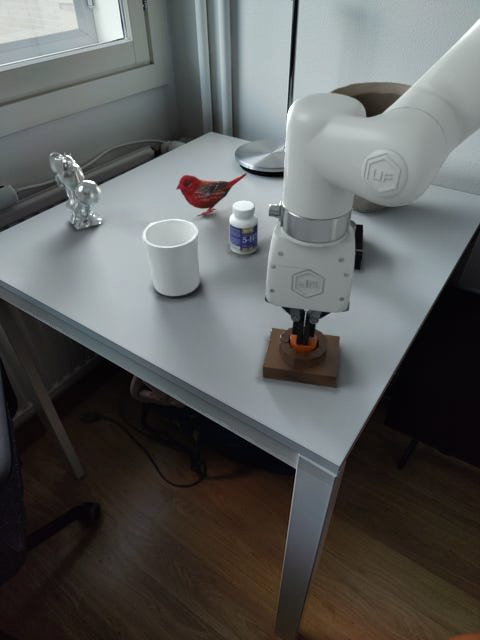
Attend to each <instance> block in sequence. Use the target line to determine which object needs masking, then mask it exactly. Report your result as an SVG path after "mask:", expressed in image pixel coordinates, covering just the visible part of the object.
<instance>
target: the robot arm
mask: <svg viewBox="0 0 480 640" xmlns="http://www.w3.org/2000/svg"><path fill="white" fill-rule="evenodd" d="M411 86H412V87H411V88H410V89H408V90H407V91H406V92H405V93H404V94H403V95H402V96H401V97H400V98H399V99H398V100H397V101H396V102H395V103H394V104H392V105H391V106H390V107H389V108H388V109H387V110H386V111H384V112H383V113H382V114H380V115H377V116H373V117H367V118H366V112H365V108H364V106H363V105H362V104H361V103H360V102H359V101H358V100H356V99H354V98H352V97H349V96H346V95H342V94H335V93H329V92H317V93H311V94H307V95H303V96H301V97H299V98H297V99H296V100H295V101H293V103H292V104H291V105H290V107H289V109H288V112H287V114H286V115H287V116H286V126H285V127H286V128H285V146H284V147H285V148H284V162H283V163H284V167H283V183H282V184H283V185H282V186H283V187H282V200H280V202H279V203H276V204H271V203H270V204H269V205H268V206H269V207H268V217H271V218H275V219H278V222H277V223H276V225H275V227H274V229H273V232H272V236H271V240H270V245H269V250H268V259H267V268H266V280H265V296H264V302H266V303H268V304H271V305H274V306H277V307H280V308H281V309H283V310H284V311H285V312H286V313H287V314H288V315H289V316H290V320H291V321H292V327H293V329H292V335H297V340H296V344H299V345H300V344H302V337H303V344H304V345H306V346H308V340H309V337H314V334H315V329H316V326H317V324H318V323H319V321H320V320H321V319H323V318H324V317H327V316H328V315H329V314H331V313H332V314H333V313H335V314H336V313H346V312H349V311H350V305H351V303H350V299H351V294H352V287H353V281H354V280H353V279H354V272H355V269H354V263H355V236H354V230H353V228H352V226H351V225H350V220H352V219H351V218H352V212H353V209H352V206H353V201H354V195H357V196H359V197H361V198H363V199H366V200H368V201H370V202H373V203H376V204H379V205H383V206H385V207H403V206H405V205H409V204H410V203H413V202H414V201H416V200H418V199H420V197H421V196H423V195H424V194H425V193H426V191H427V190H428V189H429V187H431V185H432V183H433V181H435V179H436V177H437V175H438V173H439V172H440V170H441V168H442V167H443V165H444V163H445V162H446V160H447V158H448V157H449V155H450V154H451V153H452V152H454V150H455V149H457V148H458V147H459V146H460V145H461V144H462V143H463V142H464V141H466V140H467V139H469V138H470V137H471V136H472V135H473V134H475V133H476V132H477V131H478V130H480V17H479V18H478V19H477V20H476V22H475V23H474V24H473V25H472V26H471V27H470V28H469V29H468V30H467V31H466V32H465V33H464V34H463V35H462V36H461V37H460V38H459V39H458V40H456V42H455V43H454V44H453V45H452V46H451V47H450V48H449V49H448V50H447V51H446V52H445V53H444V54H443V55H442V56H441V57H440V58H439V59H438V60H437V61H436V62H435V63H434V64H433V65H431V67H429V69H428V70H427V71H426V72H425V73H423V74H422V76H421V77H420V78H419V79H418V80H417V81H416V82H414V84H412V85H411ZM304 326H305V327H304ZM303 330H304V336H303Z"/></svg>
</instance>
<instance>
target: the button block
mask: <svg viewBox="0 0 480 640" xmlns="http://www.w3.org/2000/svg"><path fill="white" fill-rule="evenodd" d="M304 327H305V325H304ZM292 329H293V326H291V327H288V328H287V329H285V328H277V327H271V328H270V333H269V338H268V341H267V347H266V352H265V356H264V359H263V364H262V378H264V379H273V380H279V381H287V382H293V383H300V384H301V383H302V384H306V385H307V384H308V385H315V386H319V387H321V386H322V387H327V388H336V386H337V380H338V374H339V373H338V372H339V357H340V339H341V336H339V335H332V334H325V333H323V332H322V331H320V330H319V329H316V328H315V335H316V336H317V345H316V349H315V350H314V351H312V352H308V353H304V352H297V351H296V350H294V349H292V348H291V347H290V341H291V335H292Z"/></svg>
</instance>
